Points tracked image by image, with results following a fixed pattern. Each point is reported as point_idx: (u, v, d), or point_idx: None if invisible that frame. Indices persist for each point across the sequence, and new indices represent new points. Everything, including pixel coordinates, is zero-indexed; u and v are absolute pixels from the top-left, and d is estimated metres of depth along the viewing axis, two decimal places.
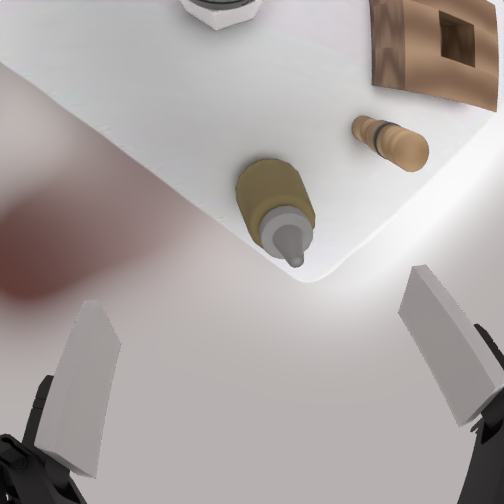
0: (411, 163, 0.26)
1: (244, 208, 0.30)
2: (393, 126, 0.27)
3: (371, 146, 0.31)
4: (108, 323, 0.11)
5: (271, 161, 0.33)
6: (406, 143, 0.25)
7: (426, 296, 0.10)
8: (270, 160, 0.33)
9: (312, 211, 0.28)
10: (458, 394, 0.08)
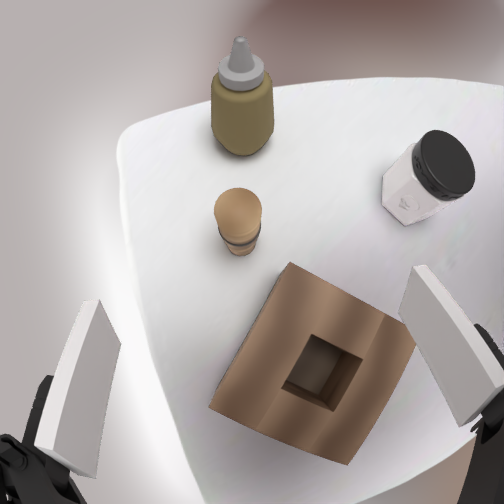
0: (226, 203, 0.26)
1: None
2: (259, 225, 0.29)
3: None
4: (108, 323, 0.11)
5: (269, 133, 0.36)
6: (252, 205, 0.26)
7: (426, 295, 0.10)
8: (270, 134, 0.36)
9: (236, 102, 0.28)
10: (458, 394, 0.08)
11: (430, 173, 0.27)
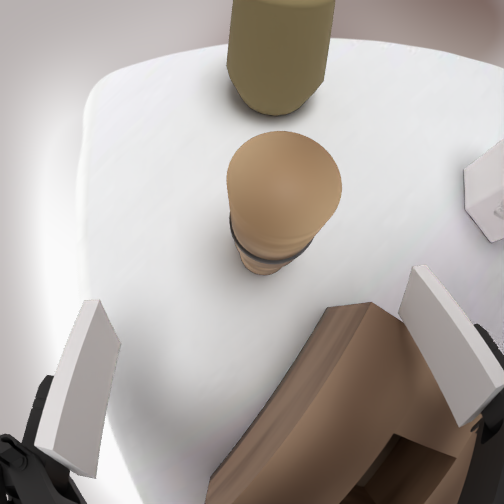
0: (259, 161, 0.10)
1: None
2: None
3: None
4: (108, 323, 0.11)
5: (319, 81, 0.20)
6: (320, 172, 0.10)
7: (427, 295, 0.10)
8: (319, 83, 0.21)
9: (279, 5, 0.13)
10: (458, 394, 0.08)
11: None
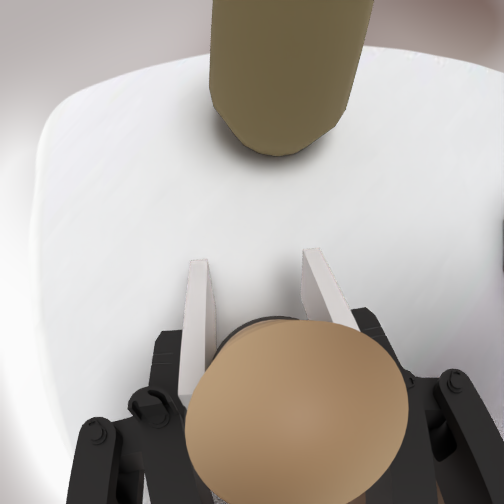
0: (251, 403, 0.04)
1: None
2: None
3: None
4: (211, 283, 0.13)
5: (341, 111, 0.15)
6: (374, 408, 0.04)
7: (310, 277, 0.12)
8: (341, 114, 0.15)
9: None
10: None
11: None
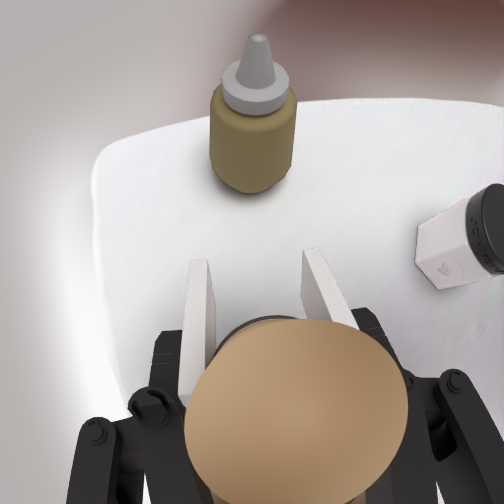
0: (250, 401, 0.04)
1: None
2: None
3: None
4: (211, 283, 0.13)
5: (286, 169, 0.28)
6: (374, 407, 0.04)
7: (311, 277, 0.12)
8: (286, 171, 0.28)
9: (246, 131, 0.20)
10: None
11: (490, 245, 0.19)
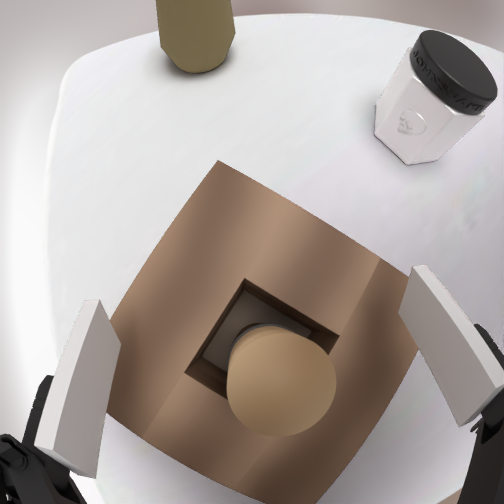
0: (258, 372, 0.10)
1: None
2: None
3: None
4: (108, 323, 0.11)
5: (226, 40, 0.24)
6: (317, 377, 0.10)
7: (427, 295, 0.10)
8: (227, 42, 0.25)
9: None
10: (458, 394, 0.08)
11: (436, 65, 0.16)
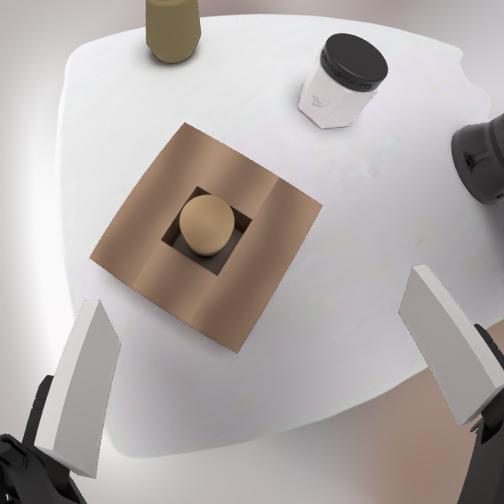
0: (194, 212, 0.22)
1: None
2: None
3: None
4: (108, 323, 0.11)
5: (194, 41, 0.34)
6: (224, 216, 0.22)
7: (427, 295, 0.10)
8: (194, 42, 0.34)
9: (162, 6, 0.26)
10: (458, 394, 0.08)
11: (333, 59, 0.27)
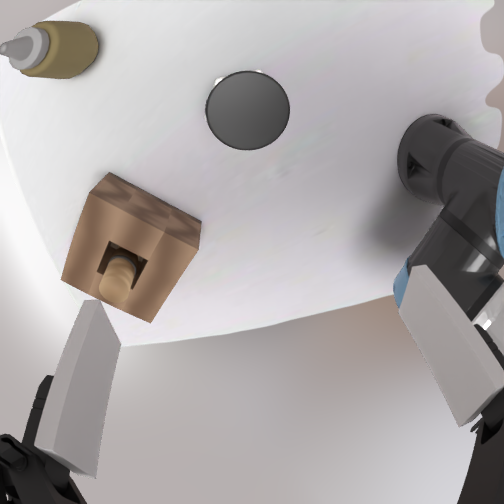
0: (105, 287, 0.35)
1: (65, 24, 0.20)
2: (133, 277, 0.38)
3: (121, 251, 0.39)
4: (108, 323, 0.11)
5: (88, 60, 0.27)
6: (122, 289, 0.35)
7: (426, 295, 0.10)
8: (89, 60, 0.27)
9: (32, 75, 0.21)
10: (458, 394, 0.08)
11: (210, 128, 0.27)
